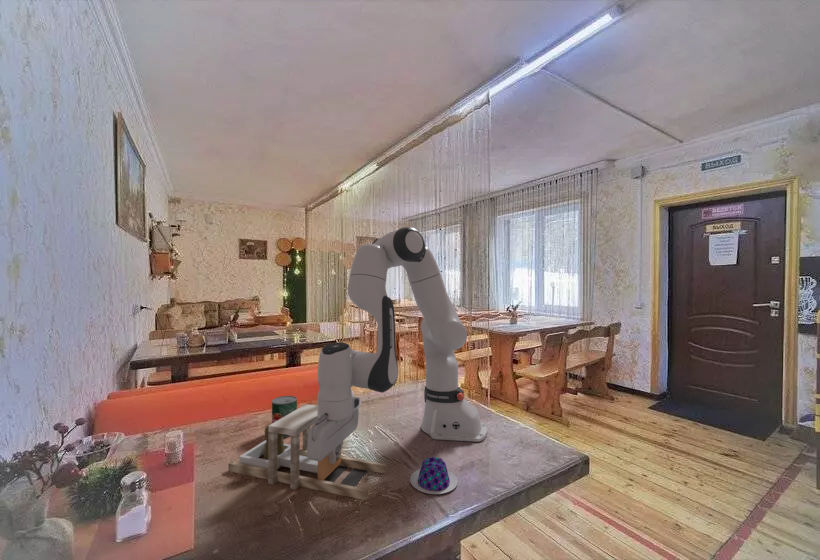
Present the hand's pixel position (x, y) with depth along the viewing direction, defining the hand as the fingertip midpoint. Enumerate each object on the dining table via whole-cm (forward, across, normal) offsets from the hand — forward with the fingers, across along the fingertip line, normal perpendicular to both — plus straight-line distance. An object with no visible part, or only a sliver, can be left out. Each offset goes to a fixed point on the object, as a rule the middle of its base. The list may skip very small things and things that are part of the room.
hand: (334, 460), depth 90 cm
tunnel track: (+4, 0, +8) cm, 9 cm away
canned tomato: (+4, +18, +29) cm, 35 cm away
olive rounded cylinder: (+4, 0, +19) cm, 19 cm away
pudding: (+5, +6, -25) cm, 26 cm away
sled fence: (+4, 0, +13) cm, 14 cm away
